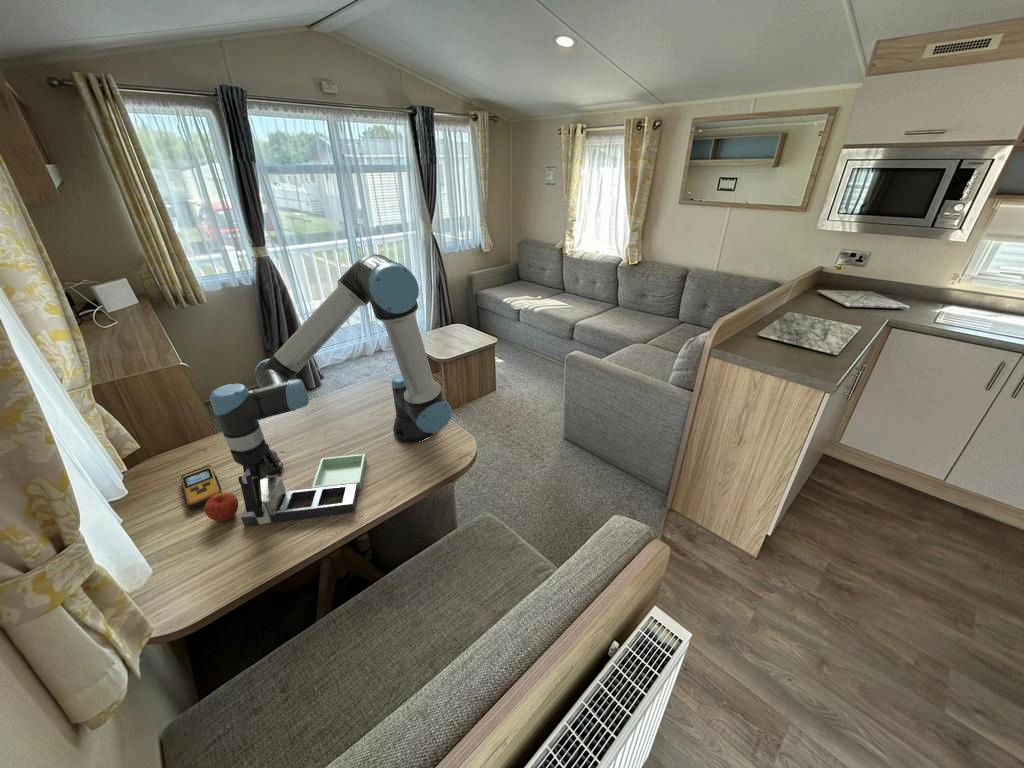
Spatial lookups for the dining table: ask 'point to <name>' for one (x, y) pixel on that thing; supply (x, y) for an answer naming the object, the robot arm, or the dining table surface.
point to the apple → (221, 506)
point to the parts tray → (340, 471)
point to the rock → (277, 461)
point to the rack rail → (317, 506)
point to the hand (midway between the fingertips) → (271, 507)
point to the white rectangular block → (272, 494)
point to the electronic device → (199, 487)
